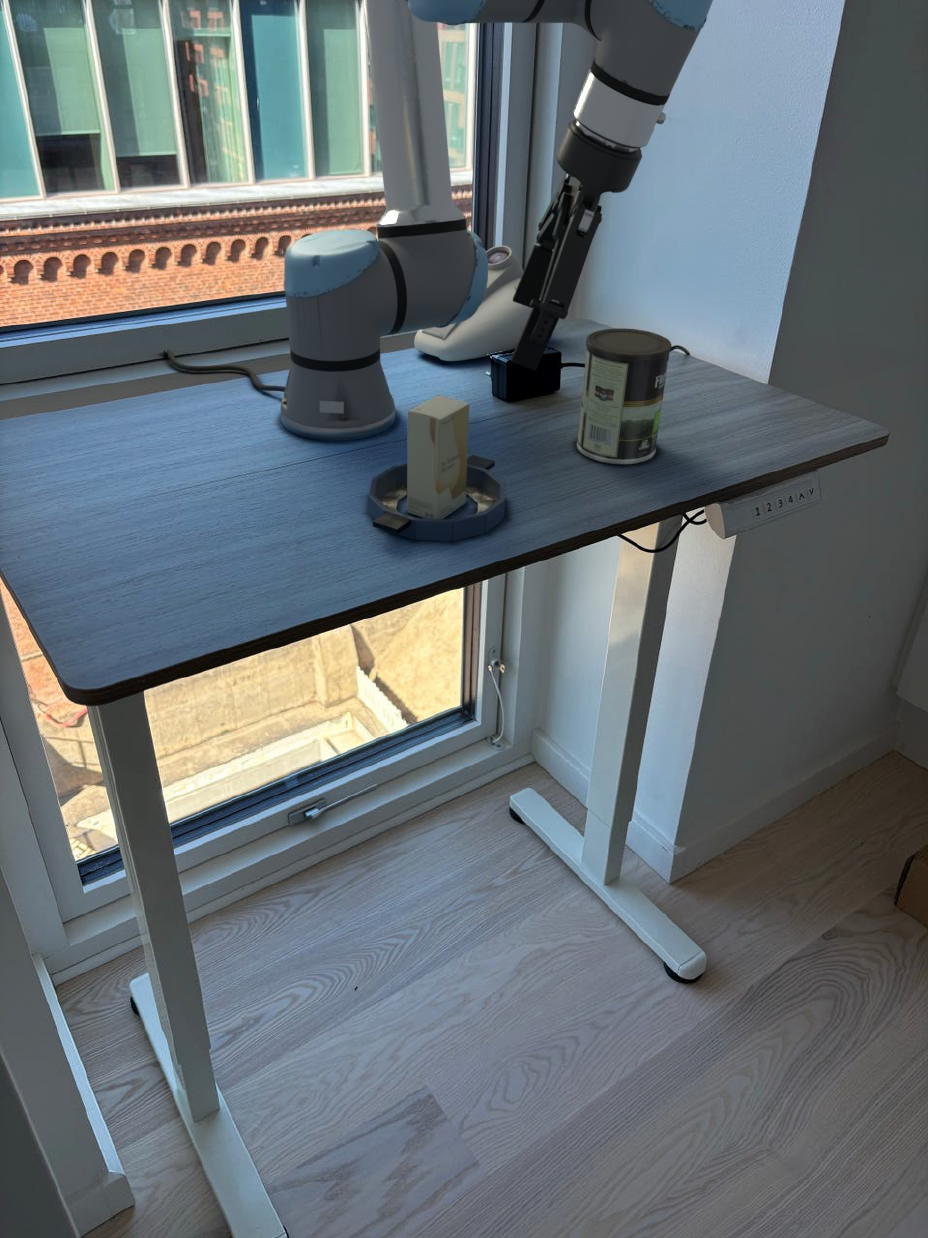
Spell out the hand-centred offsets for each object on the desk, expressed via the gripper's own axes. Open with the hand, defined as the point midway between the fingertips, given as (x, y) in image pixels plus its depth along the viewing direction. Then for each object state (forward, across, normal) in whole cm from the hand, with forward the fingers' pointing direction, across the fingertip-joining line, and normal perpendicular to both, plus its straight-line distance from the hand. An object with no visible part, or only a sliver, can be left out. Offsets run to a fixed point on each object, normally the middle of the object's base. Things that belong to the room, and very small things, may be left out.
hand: (523, 333), depth 104 cm
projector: (+28, +48, -3) cm, 55 cm away
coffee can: (+16, +10, -19) cm, 27 cm away
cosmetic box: (+20, -8, +3) cm, 22 cm away
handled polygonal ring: (+20, -8, +3) cm, 21 cm away
